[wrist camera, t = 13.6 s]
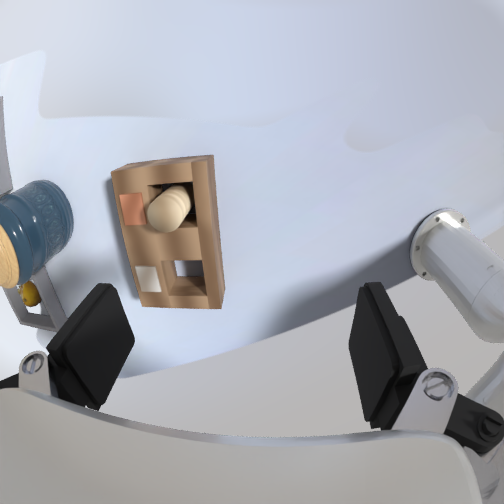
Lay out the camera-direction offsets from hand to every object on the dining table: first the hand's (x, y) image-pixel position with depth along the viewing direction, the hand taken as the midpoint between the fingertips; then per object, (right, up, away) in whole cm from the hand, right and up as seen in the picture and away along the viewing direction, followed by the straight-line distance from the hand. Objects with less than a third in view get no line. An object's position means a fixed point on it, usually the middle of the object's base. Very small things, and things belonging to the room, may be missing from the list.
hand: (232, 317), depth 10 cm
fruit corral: (-46, -7, +36) cm, 59 cm away
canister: (-34, +9, +28) cm, 45 cm away
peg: (-8, +10, +26) cm, 29 cm away
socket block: (-10, +6, +28) cm, 31 cm away
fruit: (-48, -5, +36) cm, 60 cm away
